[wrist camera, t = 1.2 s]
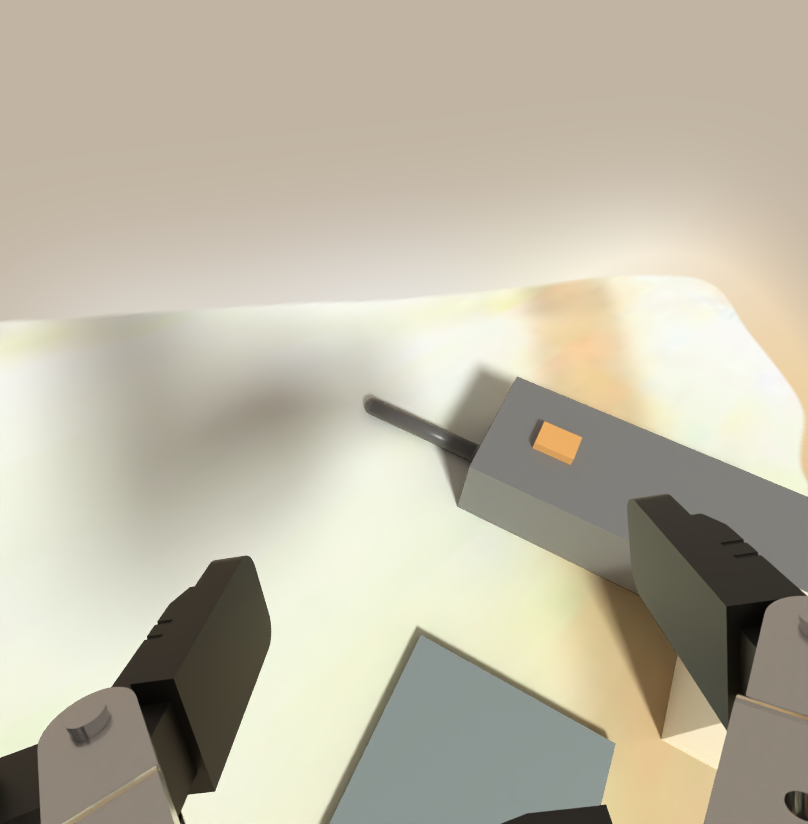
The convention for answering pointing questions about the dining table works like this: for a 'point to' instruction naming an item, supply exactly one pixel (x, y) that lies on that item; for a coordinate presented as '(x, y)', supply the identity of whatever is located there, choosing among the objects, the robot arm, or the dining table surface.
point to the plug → (693, 719)
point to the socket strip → (605, 483)
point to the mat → (470, 751)
